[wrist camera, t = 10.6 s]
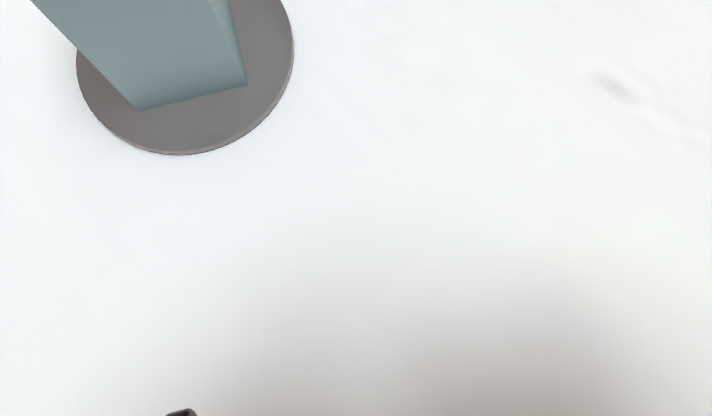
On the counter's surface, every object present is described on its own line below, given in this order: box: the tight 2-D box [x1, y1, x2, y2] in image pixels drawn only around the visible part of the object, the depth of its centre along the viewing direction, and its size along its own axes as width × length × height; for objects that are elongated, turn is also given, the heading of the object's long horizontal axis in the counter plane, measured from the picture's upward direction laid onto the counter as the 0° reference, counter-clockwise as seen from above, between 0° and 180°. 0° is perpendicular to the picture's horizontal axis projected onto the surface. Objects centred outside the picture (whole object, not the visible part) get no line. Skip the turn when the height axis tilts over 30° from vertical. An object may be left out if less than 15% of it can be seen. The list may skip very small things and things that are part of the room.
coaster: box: [76, 0, 294, 155], centre depth 26 cm, size 10×10×1 cm
